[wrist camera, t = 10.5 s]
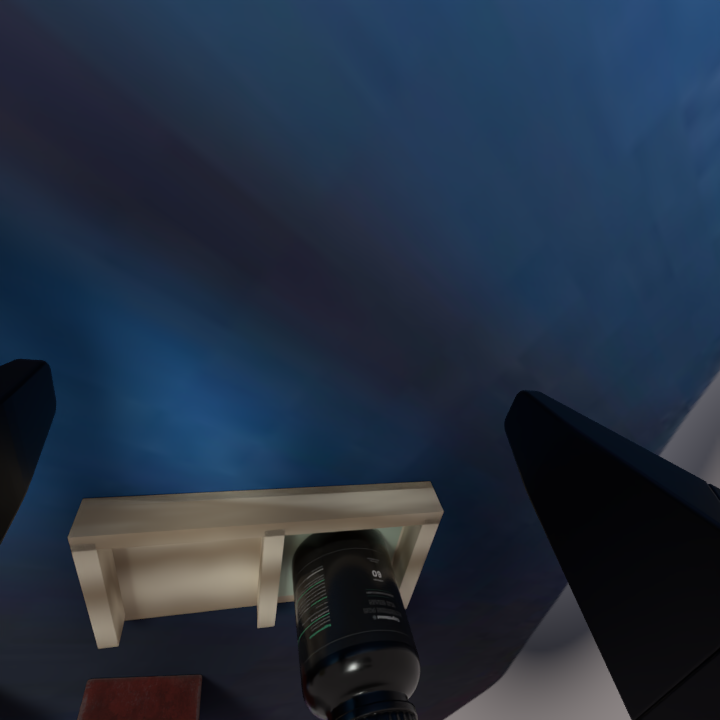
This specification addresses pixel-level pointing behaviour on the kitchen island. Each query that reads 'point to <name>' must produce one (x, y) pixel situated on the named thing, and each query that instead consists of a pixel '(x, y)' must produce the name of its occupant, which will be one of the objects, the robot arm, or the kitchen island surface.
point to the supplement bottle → (352, 629)
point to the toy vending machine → (142, 698)
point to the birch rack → (231, 546)
